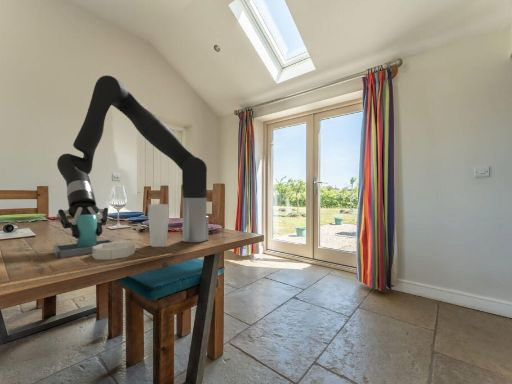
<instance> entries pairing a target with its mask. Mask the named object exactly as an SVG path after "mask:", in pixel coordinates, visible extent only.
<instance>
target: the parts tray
mask: <svg viewBox="0 0 512 384" xmlns="http://www.w3.org/2000/svg"><path fill="white" fill-rule="evenodd" d="M111 242H115V241H114V240H112V239H103V240H97V245H99V244H103V243H111ZM53 254H54V256H55V258H57V259H65V258H71V257H77V256H79V257H80V256H85V255H92V247H86V248H78V249H77V242H76V243H69V244H60V245H53Z"/></svg>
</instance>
